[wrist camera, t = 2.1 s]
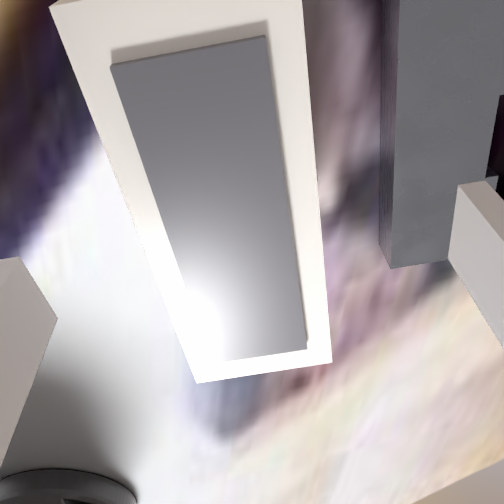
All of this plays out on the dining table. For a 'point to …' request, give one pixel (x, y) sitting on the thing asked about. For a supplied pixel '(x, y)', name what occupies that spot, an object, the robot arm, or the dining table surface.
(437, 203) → the dark grey plate
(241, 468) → the dining table surface
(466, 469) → the dining table surface
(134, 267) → the dining table surface
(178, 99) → the white-framed grey panel
